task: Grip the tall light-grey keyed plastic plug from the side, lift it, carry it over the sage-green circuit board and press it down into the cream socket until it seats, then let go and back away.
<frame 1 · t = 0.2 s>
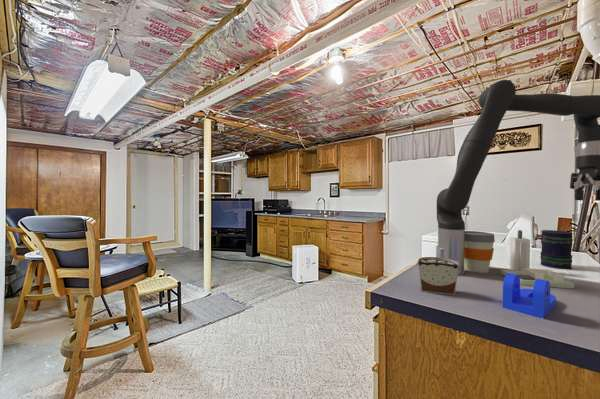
hand: (589, 200, 94), 29 cm above the counter, tool pointing down, fingers open, 8 cm apart
food container: (436, 290, 85), on the counter
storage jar: (555, 266, 113), on the counter
reusable coffee cup: (475, 269, 108), on the counter
bracket: (531, 305, 74), on the counter
plug: (519, 270, 107), on the counter
board: (534, 280, 94), on the counter
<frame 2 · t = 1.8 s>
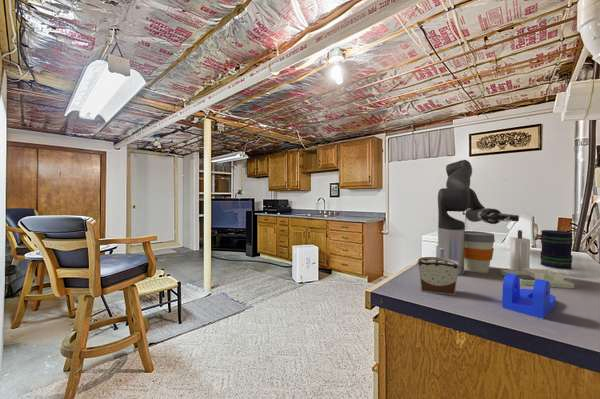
hand: (506, 218, 117), 20 cm above the counter, tool horizontal, fingers open, 8 cm apart
nothing on the counter moved.
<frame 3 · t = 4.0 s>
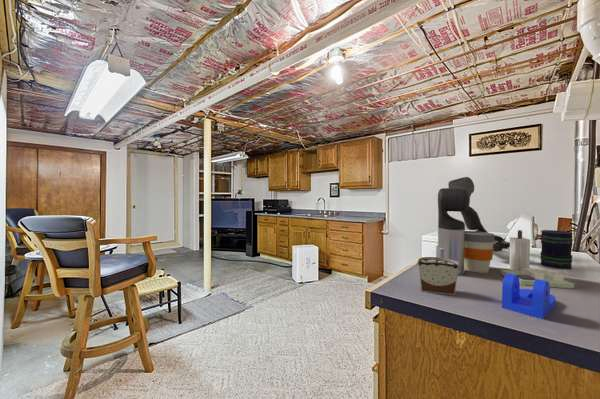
hand: (510, 248, 113), 7 cm above the counter, tool horizontal, fingers open, 8 cm apart
nothing on the counter moved.
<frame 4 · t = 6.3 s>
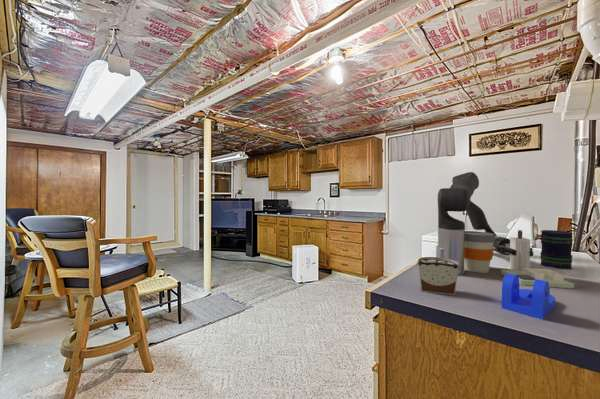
hand: (523, 253, 104), 8 cm above the counter, tool horizontal, fingers closed on plug, 5 cm apart
plug: (519, 270, 107), on the counter, touching gripper
everything else where it was.
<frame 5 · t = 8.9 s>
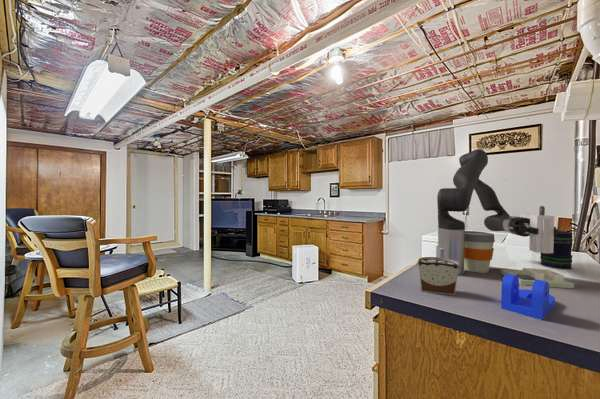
hand: (546, 231, 91), 18 cm above the counter, tool horizontal, fingers closed on plug, 5 cm apart
plug: (540, 251, 94), point 10 cm above the counter, touching gripper
everything else where it was.
when the fingers open (9 cm above the counter, at t = 11.8 s): plug stays where it is, resting on board.
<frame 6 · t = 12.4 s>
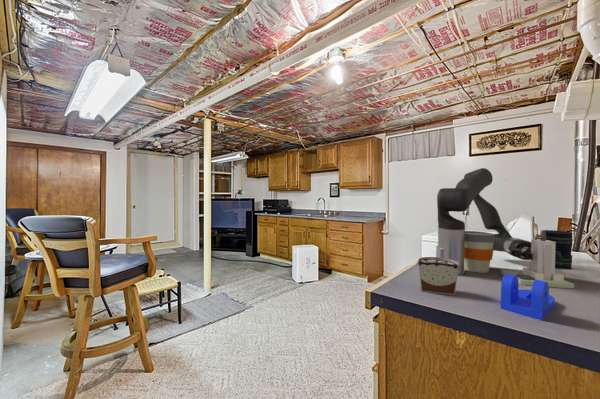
hand: (546, 257, 91), 9 cm above the counter, tool horizontal, fingers open, 8 cm apart
plug: (542, 277, 93), point 1 cm above the counter, touching board
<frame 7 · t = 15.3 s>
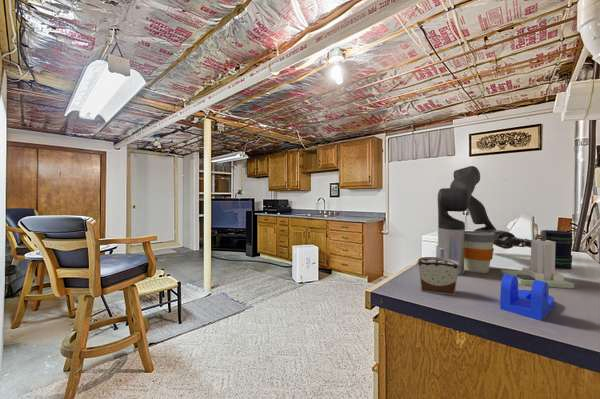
hand: (522, 245, 104), 11 cm above the counter, tool horizontal, fingers open, 8 cm apart
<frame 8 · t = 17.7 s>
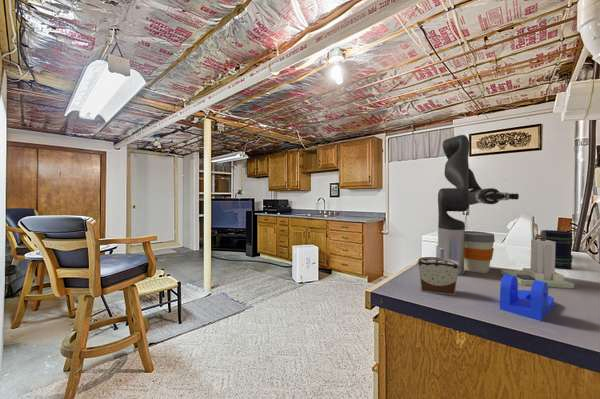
hand: (505, 196, 110), 30 cm above the counter, tool horizontal, fingers open, 8 cm apart
at the end: plug 0.0 cm from the target spot on the board, point 1.5 cm above the board's base; plug tilted 0°; the gripper is holding nothing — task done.
